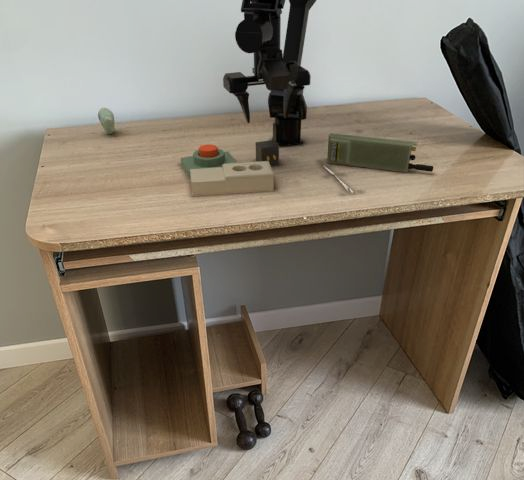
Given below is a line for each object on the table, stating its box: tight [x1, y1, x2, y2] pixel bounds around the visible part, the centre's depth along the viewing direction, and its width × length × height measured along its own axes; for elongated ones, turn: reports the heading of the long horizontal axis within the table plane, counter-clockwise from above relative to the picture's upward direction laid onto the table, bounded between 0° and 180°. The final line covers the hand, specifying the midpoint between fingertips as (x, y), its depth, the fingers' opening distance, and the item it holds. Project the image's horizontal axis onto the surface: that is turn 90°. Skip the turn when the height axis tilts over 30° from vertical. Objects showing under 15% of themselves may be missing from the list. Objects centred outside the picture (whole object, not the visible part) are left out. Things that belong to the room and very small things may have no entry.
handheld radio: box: [326, 132, 434, 173], centre depth 119 cm, size 7×3×25 cm
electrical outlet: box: [190, 161, 275, 197], centre depth 113 cm, size 7×4×18 cm
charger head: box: [255, 139, 280, 167], centre depth 122 cm, size 4×6×5 cm
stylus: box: [322, 165, 354, 194], centre depth 117 cm, size 4×1×19 cm
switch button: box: [198, 143, 219, 158], centre depth 119 cm, size 4×4×2 cm
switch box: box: [180, 148, 238, 180], centre depth 121 cm, size 12×9×4 cm
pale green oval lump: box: [97, 107, 116, 135], centre depth 138 cm, size 8×4×7 cm, turn 14°
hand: (267, 120), depth 117 cm, fingers open, 9 cm apart
